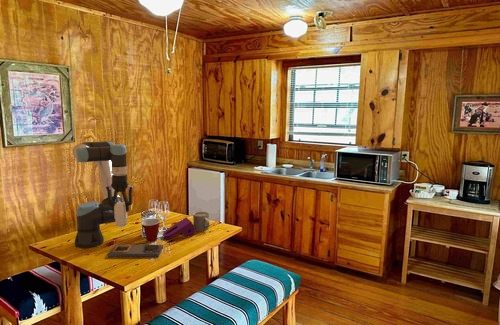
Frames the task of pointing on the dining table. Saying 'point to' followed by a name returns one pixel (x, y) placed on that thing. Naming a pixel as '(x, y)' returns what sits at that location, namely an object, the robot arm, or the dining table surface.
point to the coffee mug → (201, 221)
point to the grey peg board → (135, 251)
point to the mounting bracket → (180, 229)
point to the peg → (120, 214)
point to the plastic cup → (151, 229)
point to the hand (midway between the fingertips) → (121, 217)
